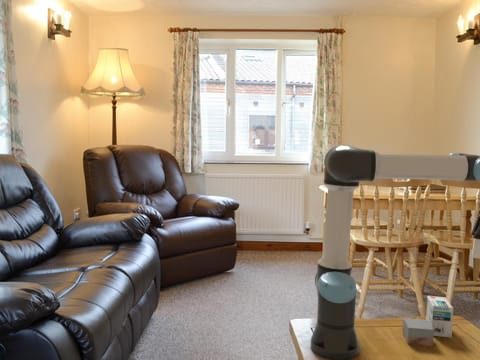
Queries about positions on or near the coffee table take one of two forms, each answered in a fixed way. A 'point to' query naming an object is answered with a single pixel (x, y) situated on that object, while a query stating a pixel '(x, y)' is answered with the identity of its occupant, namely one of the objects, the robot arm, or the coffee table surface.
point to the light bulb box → (440, 315)
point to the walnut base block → (417, 340)
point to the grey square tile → (418, 328)
